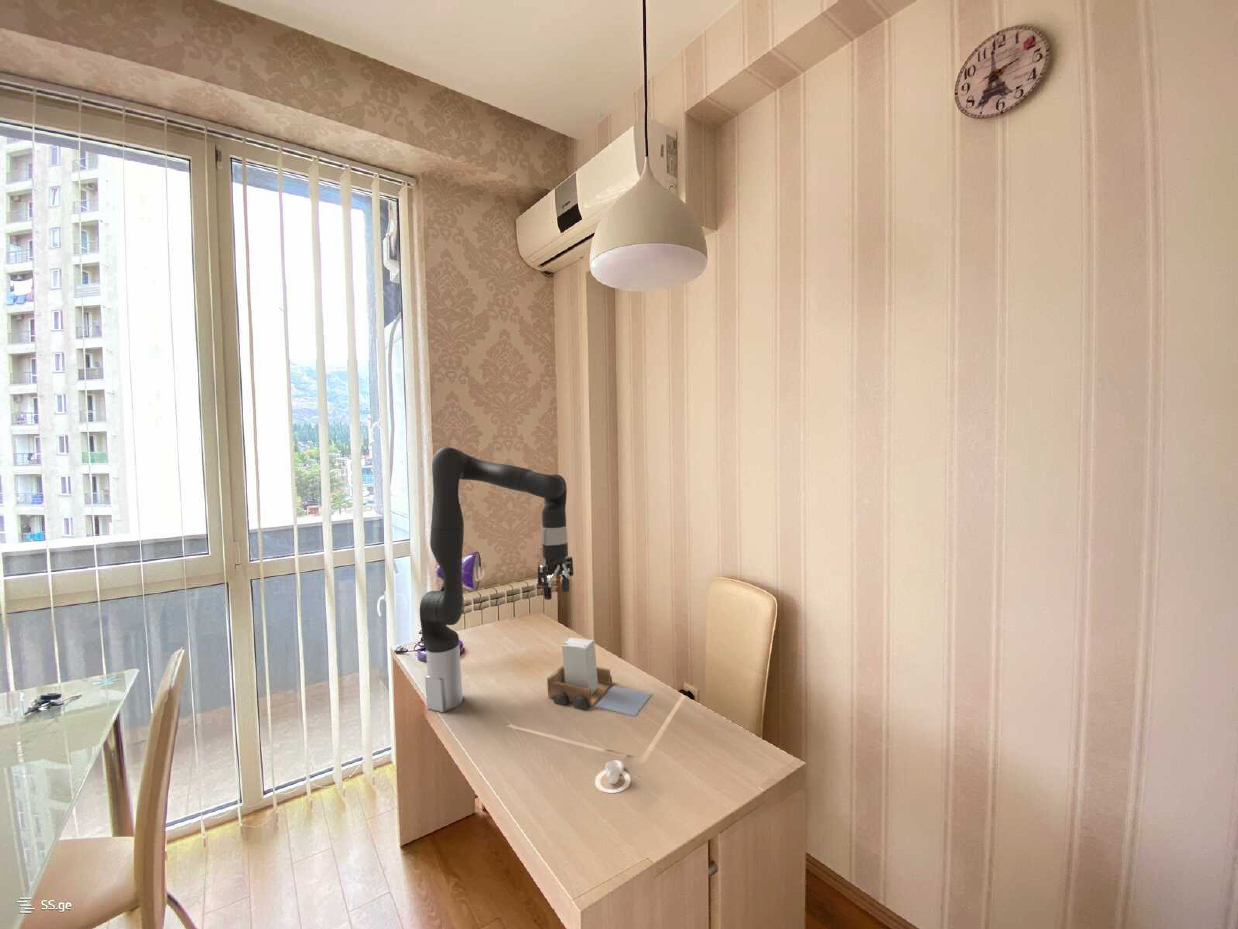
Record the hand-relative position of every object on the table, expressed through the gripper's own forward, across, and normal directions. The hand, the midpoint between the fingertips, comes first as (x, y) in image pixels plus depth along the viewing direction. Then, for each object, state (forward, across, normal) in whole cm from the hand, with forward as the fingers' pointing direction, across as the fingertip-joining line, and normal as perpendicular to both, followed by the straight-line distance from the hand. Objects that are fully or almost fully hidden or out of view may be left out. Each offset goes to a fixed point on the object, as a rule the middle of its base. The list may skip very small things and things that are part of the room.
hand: (556, 595), depth 152 cm
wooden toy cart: (+29, -1, +8) cm, 30 cm away
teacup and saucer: (+31, +24, +36) cm, 53 cm away
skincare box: (+28, -1, +7) cm, 29 cm away
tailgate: (+28, -2, +15) cm, 32 cm away
